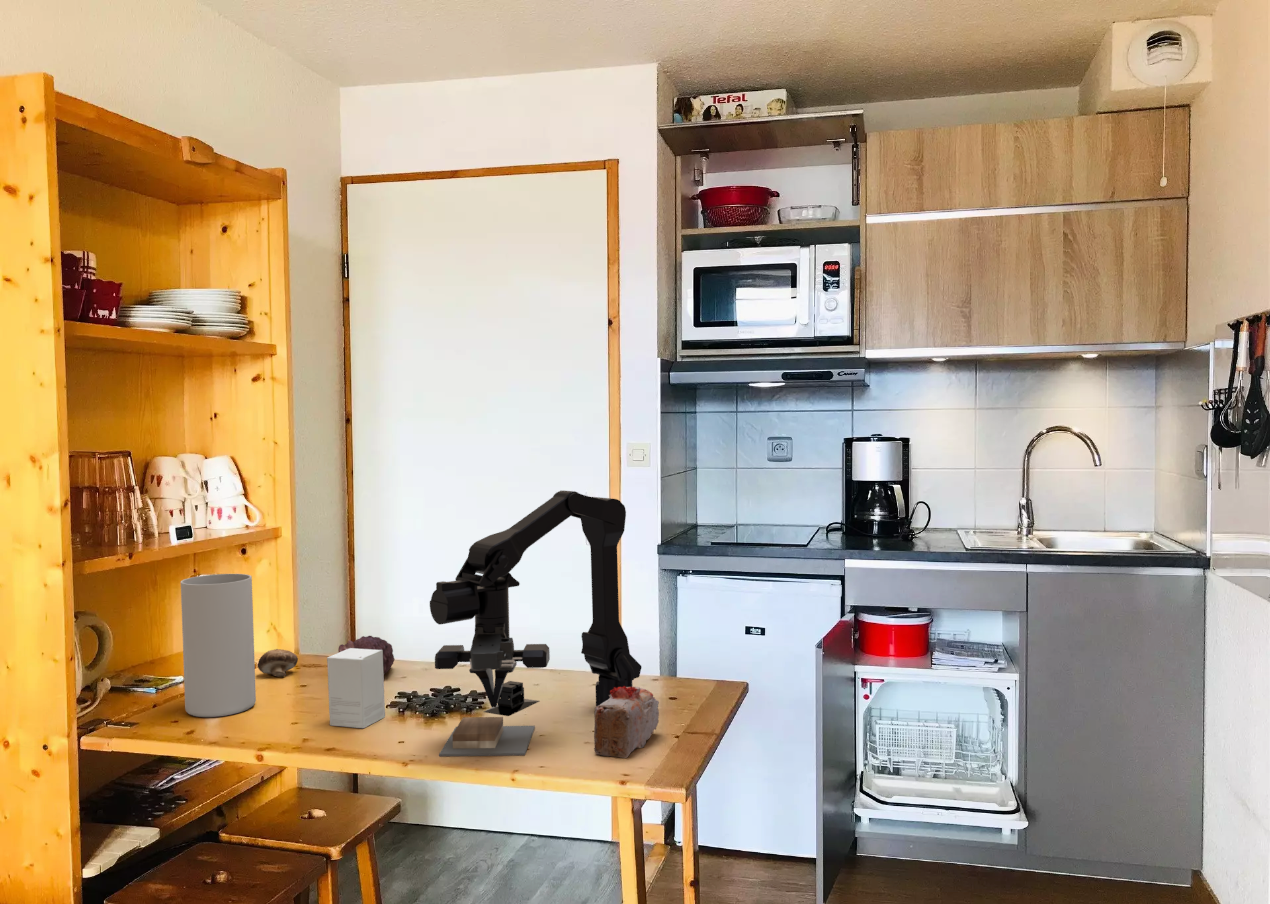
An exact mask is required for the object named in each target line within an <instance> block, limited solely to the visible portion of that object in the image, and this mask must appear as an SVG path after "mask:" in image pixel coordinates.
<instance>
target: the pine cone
mask: <svg viewBox="0 0 1270 904" xmlns="http://www.w3.org/2000/svg"><path fill="white" fill-rule="evenodd" d="M349 648H356V649H372V650H383V674H384V675H385V674H386V673H388V672H389V670H390V669H391V668H392V666H393V665H394V662H395V655H394V654H393V652H394V649H393V645H392V644H391V643H389V642H388V641H387V640H385V639H382V638H381V637H378V636H373V635H367V636H364V635H363V636H361V637H360V638H357V639H355V640H354V641H352V640H348V641H347V642H346V643H345V644H339V645H338V653H339V652H341V651H344V650H346V649H349Z"/></svg>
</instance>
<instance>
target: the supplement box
mask: <svg viewBox="0 0 1270 904" xmlns="http://www.w3.org/2000/svg"><path fill="white" fill-rule="evenodd" d="M326 663H327V681H328V682H327V685H328V687H327V688H328V710H329V711H328V712H329V714H328V715H329V726H331V727H332V726H334V727H343V728H344V727H345V728H353V729H354V728H355V729H365V728H367V727H369V726H371V725H373V724H374V723H377V722H378V721H380V720H383V719H384V718H385V717H386V708H385V705H386V704H385V702H386V701H385V676H384V675H385V674H383V650H372V649H356V648H349V649H346V650H344V651H341V652H339V651H338V652H337V653H335V654H332V655H330V656H328V657H326Z"/></svg>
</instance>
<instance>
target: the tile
mask: <svg viewBox="0 0 1270 904" xmlns="http://www.w3.org/2000/svg"><path fill="white" fill-rule="evenodd" d="M503 726H504V717H503V716H479V717H478V716H472V717H471V716H470V717H469V716H465V717H462V718H461V720H460V722H459V723H458V725H457V726H456V727H457V728H456V729H455V728H454V729H455V731H454V730H453V731H454V733H453V734H452V733H451V734H452V735H453V748H495V747H496V745H497V743H498V741H499V739H500V736H501V734H502V732H503Z"/></svg>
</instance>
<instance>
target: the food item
mask: <svg viewBox="0 0 1270 904" xmlns="http://www.w3.org/2000/svg"><path fill="white" fill-rule="evenodd" d="M610 693H611V695H609V696H610V698H609V699H608V700H607V701H605V702H603V703H602V704H600V705H599V706H597V707H596V706H595V707H594V713H593V714H594V715H593V716H594V731H593V744H594V745H593V746H594V748H593V750H594V753H595V754H596V755H599V756H602V757H603V756H605V757H613V758H614V757H615V758H620V759H627V758H628V757H629V756H630V754H631V753H633V752H634V750H635V749H643V748H645V746H646V743H647V741H648V740H649V739H650V738H651V736H652V735H653V733H654V731H655V730H657V727H658V724H659V721H660V720H659V718H660V712H659V703H660V702H659V700H657V699H656V698H655V697H654V694H653V693H652V691H649V690H648V689H646V688H644V687H643V688H642V687H640V686H633V687H625V686H624V687H618V688H615V687H614V689H613V690H611V691H610Z"/></svg>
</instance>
